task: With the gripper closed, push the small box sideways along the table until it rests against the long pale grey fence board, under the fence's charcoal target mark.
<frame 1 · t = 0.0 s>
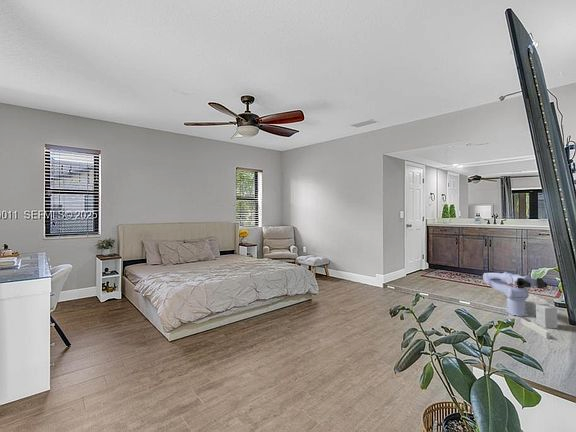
hand: (538, 285, 159), 22 cm above the table, tool horizontal, fingers open, 7 cm apart
fence: (534, 330, 154), on the table
small box: (546, 325, 160), on the table
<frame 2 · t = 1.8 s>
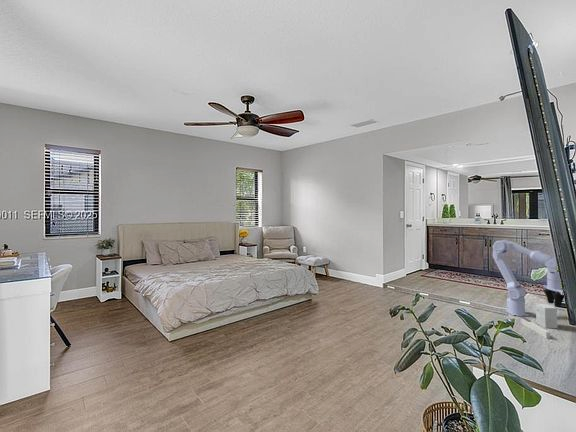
hand: (554, 304, 164), 9 cm above the table, tool pointing down, fingers open, 5 cm apart
nothing on the table moved.
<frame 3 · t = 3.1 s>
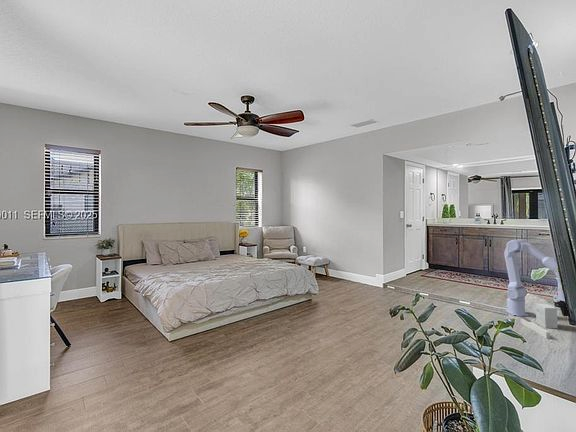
hand: (565, 315, 158), 5 cm above the table, tool pointing down, fingers closed
nothing on the table moved.
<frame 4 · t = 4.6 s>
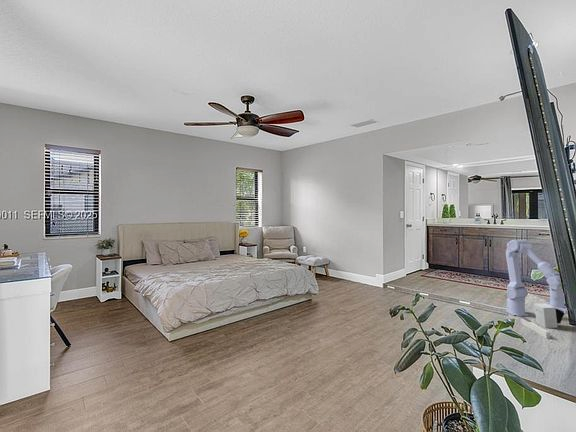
hand: (557, 323, 159), 1 cm above the table, tool pointing down, fingers closed
small box: (546, 325, 160), on the table, touching gripper
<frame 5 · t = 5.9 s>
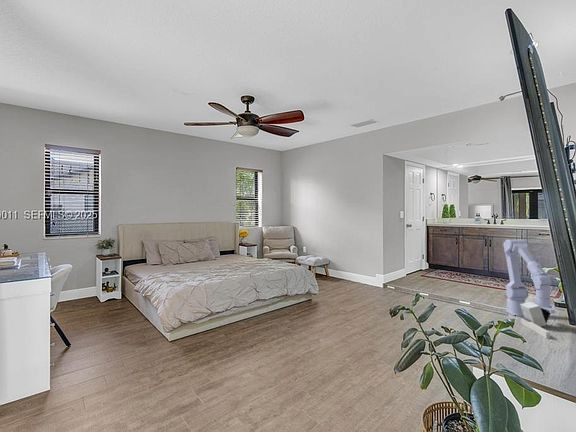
hand: (543, 322, 160), 1 cm above the table, tool pointing down, fingers closed, pressing on small box
small box: (536, 324, 160), point 1 cm above the table, touching gripper
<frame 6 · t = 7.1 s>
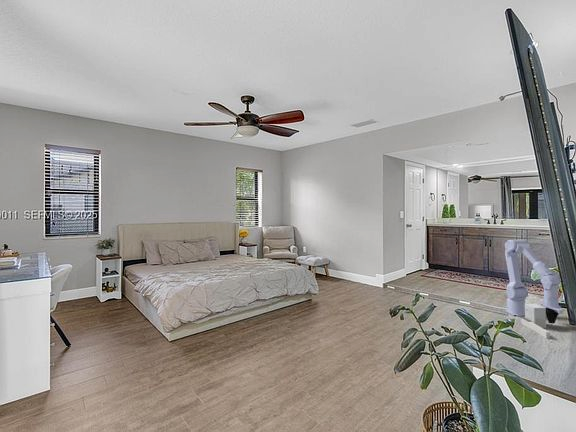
hand: (551, 322, 159), 1 cm above the table, tool pointing down, fingers closed
small box: (535, 325, 160), on the table
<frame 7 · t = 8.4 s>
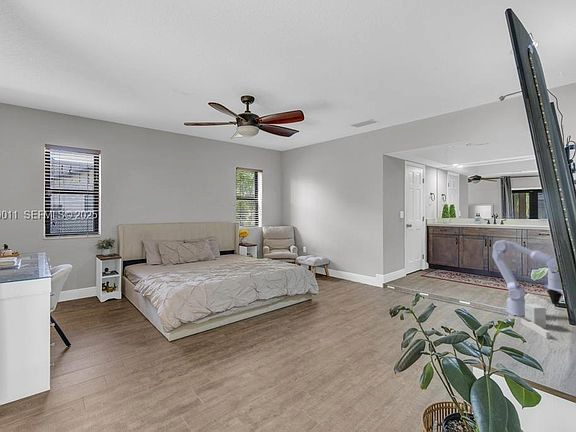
hand: (555, 304, 165), 9 cm above the table, tool pointing down, fingers closed
nothing on the table moved.
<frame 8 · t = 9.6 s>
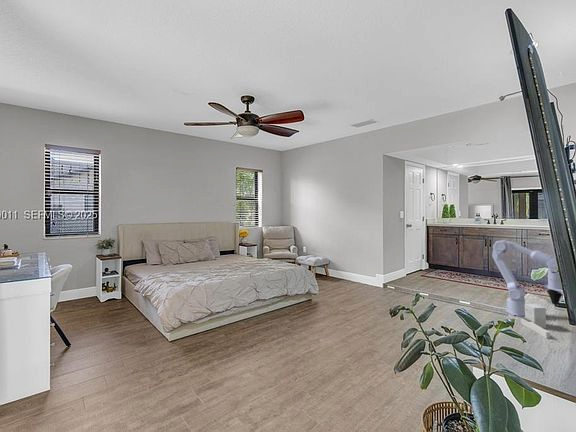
hand: (555, 304, 165), 9 cm above the table, tool pointing down, fingers closed
nothing on the table moved.
at the end: small box 0.3 cm from the target spot, on the table; small box tilted 0°; small box moved 5.4 cm from its start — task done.
